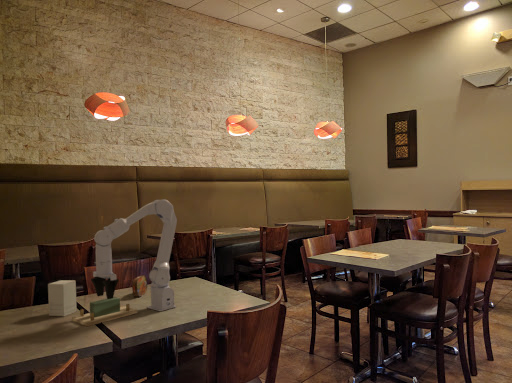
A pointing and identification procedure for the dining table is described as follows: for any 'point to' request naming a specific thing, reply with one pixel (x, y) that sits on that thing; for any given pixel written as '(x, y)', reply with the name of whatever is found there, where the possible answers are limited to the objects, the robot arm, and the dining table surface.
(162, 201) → the robot arm
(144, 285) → the tin
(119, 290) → the dining table surface
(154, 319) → the dining table surface
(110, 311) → the board block
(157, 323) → the dining table surface
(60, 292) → the supplement box
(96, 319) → the base plate
